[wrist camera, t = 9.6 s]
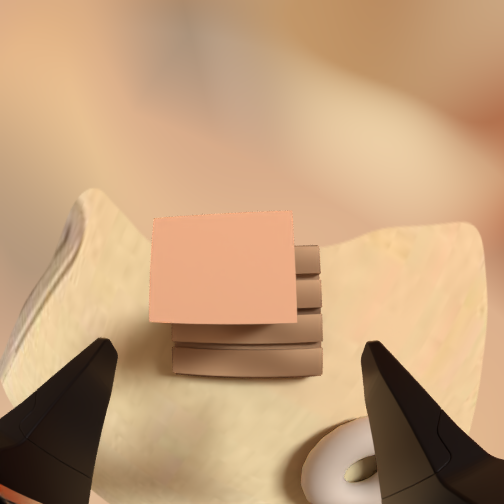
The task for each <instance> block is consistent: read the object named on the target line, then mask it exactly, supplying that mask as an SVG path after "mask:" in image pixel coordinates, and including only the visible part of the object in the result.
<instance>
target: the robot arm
mask: <svg viewBox="0 0 504 504" xmlns="http://www.w3.org/2000/svg"><path fill="white" fill-rule="evenodd" d="M117 359H118V354H117V351H116V350H115V348H114V346H113V345H112V343H111V341H110V340H109V339H107V338H98V339H96V340H95V341H94V342H93V343H92V344H90V345H89V346H88V347H87V348H86V349H84V350H83V351H82V352H81V353H80V354H78V355H77V356H76V357H75V358H74V359H72V360H71V361H70V362H69V363H68V364H66V365H65V366H64V367H63V368H62V369H61V370H59V371H58V372H57V373H56V374H55V375H53V376H52V377H51V378H50V379H49V380H48V381H46V382H45V383H44V384H43V385H42V386H41V387H40V388H38V389H37V391H35V392H34V393H33V394H31V395H30V396H29V397H28V398H27V399H26V400H24V401H23V402H22V403H21V404H19V405H18V406H17V407H15V408H14V409H13V410H11V411H10V412H9V413H8V414H6V415H5V416H3V417H2V418H1V419H0V504H89V497H90V490H91V484H92V477H93V471H94V466H95V460H96V455H97V450H98V446H99V441H100V437H101V432H102V428H103V424H104V419H105V415H106V411H107V408H108V404H109V400H110V396H111V392H112V387H113V381H114V375H115V370H116V364H117ZM361 366H362V375H363V385H364V396H365V403H366V409H367V413H368V418H369V424H370V429H371V434H372V440H373V445H374V451H375V458H376V464H377V471H378V478H379V485H380V493H381V503H382V504H504V460H503V459H499V458H496V457H494V456H492V455H490V454H488V453H487V452H486V451H485V450H483V449H482V448H481V447H480V446H479V445H478V444H477V443H476V442H474V440H472V439H471V438H470V437H469V436H468V435H467V434H466V433H465V432H464V431H463V430H462V429H461V428H459V427H458V426H457V425H456V424H455V422H454V421H453V420H452V419H451V418H450V417H449V416H448V415H447V414H446V413H445V412H444V410H443V409H441V407H440V406H439V405H438V404H437V403H436V402H435V401H434V399H433V398H432V397H431V396H430V395H429V394H428V393H427V392H426V391H425V389H424V388H423V387H422V386H421V385H420V384H419V383H418V382H417V381H416V380H415V379H414V377H413V376H412V375H411V374H410V373H409V372H408V371H407V370H406V369H405V368H404V367H403V366H402V365H401V363H400V362H399V361H398V360H397V359H396V358H395V357H394V356H393V355H392V354H391V353H390V352H389V351H388V350H387V349H386V348H385V346H384V345H383V344H382V343H381V342H380V341H377V340H376V341H368V342H367V343H366V345H365V348H364V351H363V353H362V356H361Z"/></svg>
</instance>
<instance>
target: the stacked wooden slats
mask: <svg viewBox="0 0 504 504" xmlns="http://www.w3.org/2000/svg"><path fill="white" fill-rule="evenodd" d="M294 250H295V271H296V296H297V323H276V324H185V323H172V341H175V347H172V359H173V373H176V374H181V375H193V376H207V377H229V378H288V377H309V376H321V374H322V368H323V348H322V347H321V341H323V333H322V314H321V307H322V293H321V280H319V274H320V273H321V271H320V253H319V246H318V245H308V246H294Z"/></svg>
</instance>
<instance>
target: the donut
mask: <svg viewBox="0 0 504 504" xmlns="http://www.w3.org/2000/svg"><path fill="white" fill-rule="evenodd" d="M372 455H375V451H374V445H373V440H372V434H371V429H370V424H369V418H368V416H367V417H360V418H357V419H355V420H353V421H350V422H348V423H345V424H343V425H340V426H339V427H337V428H336V429H334V430H333V431H332V432H330V433H329V434H327V435H326V436H324V437H323V438H322V439H321V440H320V441H319V442H318V443H317V444H316V446H315V447H314V448H313V449H312V450H311V451H310V452H309V454H308V456H307V458H306V461H305V463H304V465H303V467H302V474H301V487H302V489H303V492H304V494H305V496H306V499H307V500H308V501H309V502H310V503H311V504H382V503H381V493H380V485H379V478H378V471H377V472H376V473H375V474H374V475H372V476H371V477H369V478H368V479H365V480H363V481H359V482H348V481H346V480H345V479H344V474H345V472H346V470H347V469H348V468H349V467H350V466H351V465H352V464H354V463H355V462H357V461H358V460H360V459H362V458H365V457H367V456H372Z"/></svg>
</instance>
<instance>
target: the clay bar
mask: <svg viewBox="0 0 504 504" xmlns="http://www.w3.org/2000/svg"><path fill="white" fill-rule="evenodd" d="M149 322H160V323H185V324H276V323H297V296H296V271H295V250H294V233H293V216H292V211H267V212H244V213H224V214H207V215H192V216H178V217H164V218H154V223H153V234H152V248H151V266H150V293H149Z"/></svg>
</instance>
